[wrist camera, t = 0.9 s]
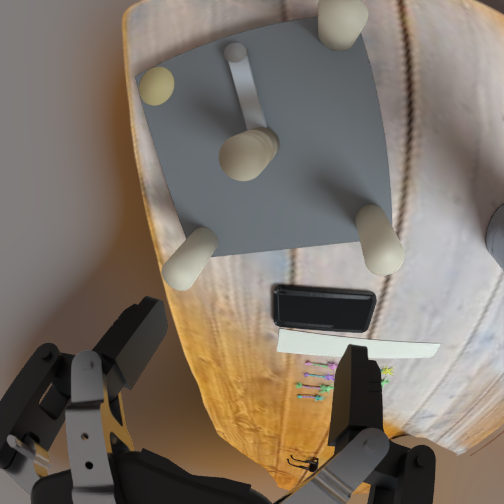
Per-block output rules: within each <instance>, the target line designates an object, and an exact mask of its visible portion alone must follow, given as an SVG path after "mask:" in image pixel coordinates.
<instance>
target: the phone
mask: <svg viewBox="0 0 504 504" xmlns="http://www.w3.org/2000/svg"><path fill="white" fill-rule="evenodd" d="M375 305H376V295H375V294H374V293H373V292H368V291H352V290H337V289H323V288H310V287H298V286H286V285H279V286H277V287H276V288H275V290H274V323H275V325H277V326H279V327H287V328H297V329H309V330H321V331H335V332H352V333H363V332H365V331H367V330H368V328H369V325H370V321H371V318H372V315H373V312H374V308H375Z"/></svg>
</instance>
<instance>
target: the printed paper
mask: <svg viewBox="0 0 504 504" xmlns="http://www.w3.org/2000/svg"><path fill="white" fill-rule="evenodd" d="M349 344H353V345H360V346H366V347H367V349H368V358H429V357H432V356H433V355H434V354H435V352H436V351H437V349H438V348H439V346H440V345H441V344H433V343H410V342H393V341H380V340H368V339H357V338H347V337H338V336H329V335H321V334H313V333H306V332H298V331H291V330H285V329H280V331H279V339H278V346H277V351H278V352H287V353H297V354H307V355H320V356H335V357H342V356H343V354H344V352H345V350H346V348H347V346H348V345H349ZM335 362H336V361H335ZM331 363H332V362H331ZM305 364H306V363H305ZM328 364H329V363H328ZM306 365H314V366H316V364H312V363H310V362H309V363H308V362H307V364H306ZM317 366H322V367H329V368H331V369H333V372H334V368H337V366H338V365H335V363H334V364H329V366H324V365H320V364H317ZM386 367H387V366H386ZM389 371H392V370H391V369H387V368H386V370H384V369H383V370H381V373H382V374H383V373H384V374H385V375H386V374H387V373H389V374H390V375H391V373H393V372H389ZM306 375H307V376H308V375H309V376H317V377H322V378H324V379H327V380H330V379H331V380H333V381H334V380H335V379H333V378H332V376H330V375H329V373H328V376H326V374H325V376H319V375H312V374H308V373H307V374H306V373H305V375H304V376H306ZM307 376H306V377H307ZM333 376H334V375H333ZM334 377H335V376H334ZM388 379H389V378H388ZM388 379H387V380H388ZM387 380H385V381H387ZM385 381H382V383H381V385H382V387H383V385H384V384H385V383H389V381H387V382H385ZM322 385H323V384H322ZM332 385H333V384H332ZM332 385H331V386H332ZM298 386H299V388H300V387H306V388H309V389H310V388H312V389H314V388H316V389H322V390H323V391H319V392H321V393H323V392H328V393H329V390H330V389H334V387H331V386H324V385H323V386H324V387H323V386H321V385H320V387H322V388H320V387H310V386H302V384H301V383H300V385H299V384H298ZM298 386H296V388H298ZM319 394H320V393H319ZM329 394H330V393H329ZM301 397H311V396H299V395H298V398H301ZM312 398H315V399H316V400H321V398H322V397H318V395H317V396H316V397H312ZM323 398H324V399H325V397H323ZM316 400H315V401H316Z"/></svg>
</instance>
